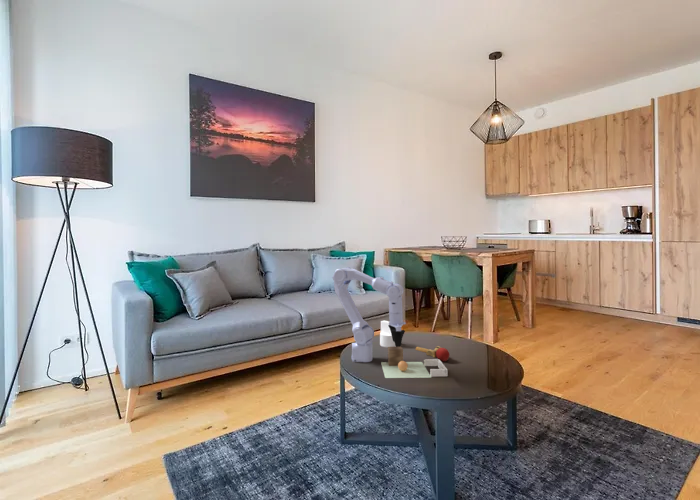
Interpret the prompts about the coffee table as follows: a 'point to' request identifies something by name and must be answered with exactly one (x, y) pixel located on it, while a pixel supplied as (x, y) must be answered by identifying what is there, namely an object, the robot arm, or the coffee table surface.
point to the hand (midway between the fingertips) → (396, 343)
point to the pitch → (415, 370)
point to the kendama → (436, 352)
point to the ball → (402, 365)
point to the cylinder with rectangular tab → (386, 335)
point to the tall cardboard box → (395, 355)
